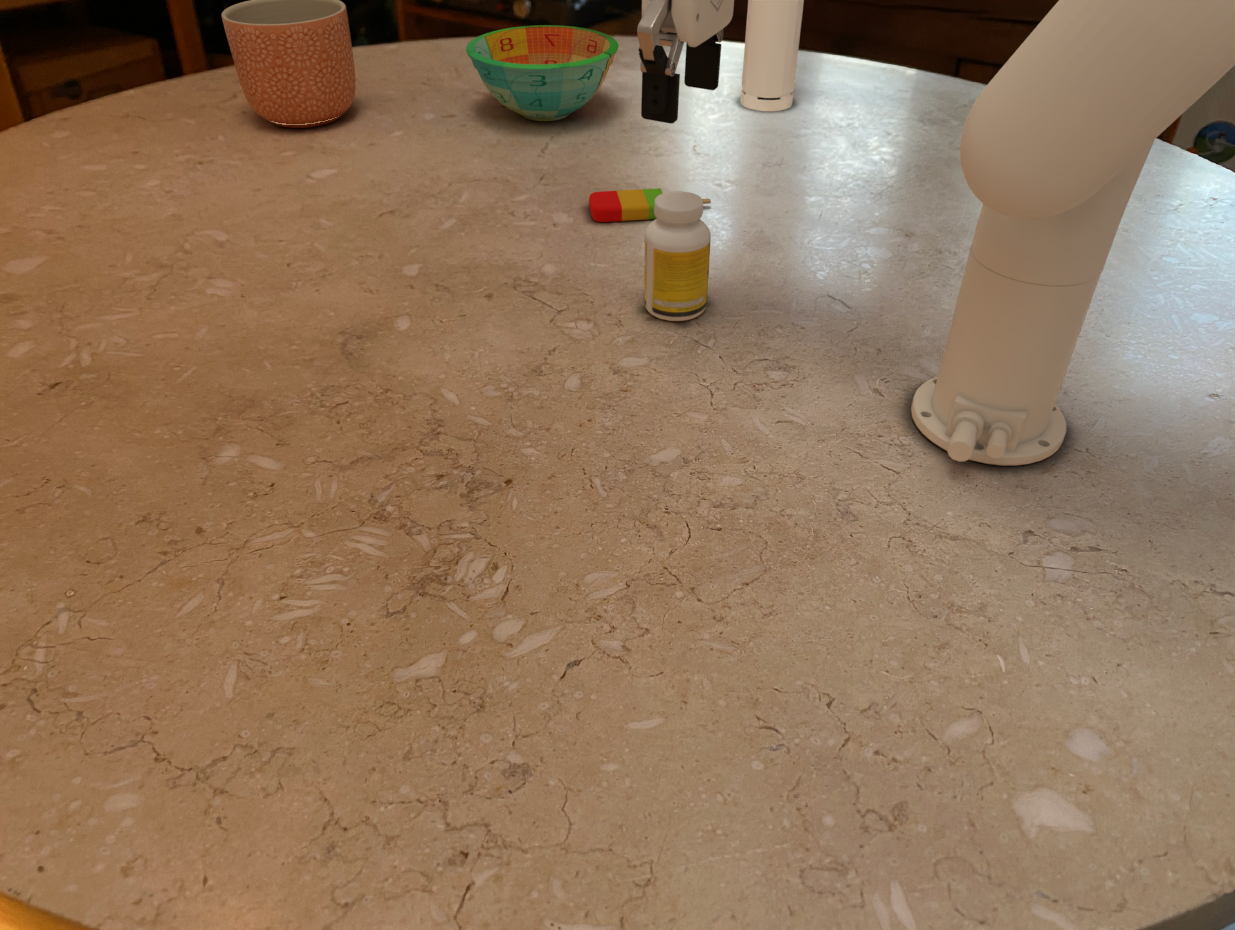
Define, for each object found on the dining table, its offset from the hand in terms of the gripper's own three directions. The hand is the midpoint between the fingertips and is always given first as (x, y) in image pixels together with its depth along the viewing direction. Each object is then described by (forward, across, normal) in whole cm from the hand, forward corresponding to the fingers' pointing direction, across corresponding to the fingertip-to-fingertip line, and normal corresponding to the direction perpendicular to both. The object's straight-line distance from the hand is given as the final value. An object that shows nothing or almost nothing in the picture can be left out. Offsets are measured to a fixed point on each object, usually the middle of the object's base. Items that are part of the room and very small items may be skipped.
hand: (680, 103), depth 84 cm
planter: (+22, +30, +72) cm, 81 cm away
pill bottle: (+21, 0, -1) cm, 21 cm away
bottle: (+21, +66, +12) cm, 70 cm away
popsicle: (+21, +21, +11) cm, 32 cm away
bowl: (+22, +47, +40) cm, 65 cm away
